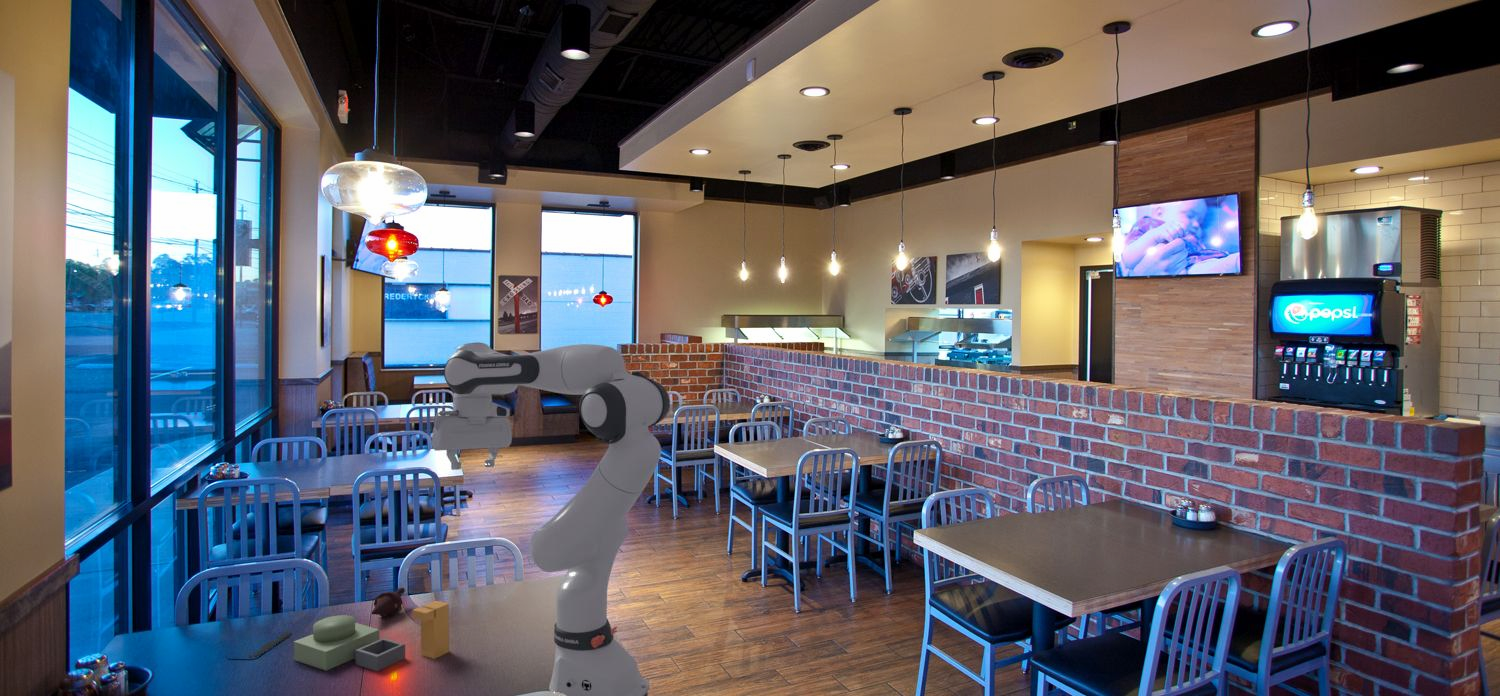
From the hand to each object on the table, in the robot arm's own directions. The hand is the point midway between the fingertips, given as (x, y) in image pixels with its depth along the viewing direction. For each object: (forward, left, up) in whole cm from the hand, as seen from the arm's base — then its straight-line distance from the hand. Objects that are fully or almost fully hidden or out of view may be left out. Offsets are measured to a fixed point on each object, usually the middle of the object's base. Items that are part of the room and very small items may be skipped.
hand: (473, 468), depth 183 cm
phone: (+52, +20, -47) cm, 73 cm away
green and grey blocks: (+25, +15, -46) cm, 54 cm away
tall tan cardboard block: (+10, +5, -46) cm, 47 cm away
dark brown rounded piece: (+40, -7, -46) cm, 61 cm away
